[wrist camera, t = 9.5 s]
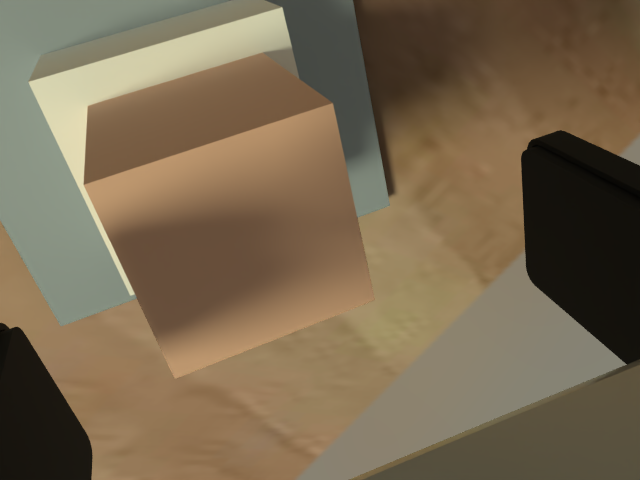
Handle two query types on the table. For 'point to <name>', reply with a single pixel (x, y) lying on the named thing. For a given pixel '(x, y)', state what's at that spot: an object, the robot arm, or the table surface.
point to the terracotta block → (227, 208)
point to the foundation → (132, 75)
